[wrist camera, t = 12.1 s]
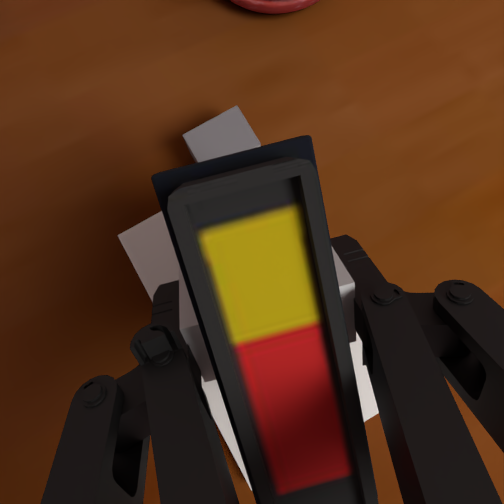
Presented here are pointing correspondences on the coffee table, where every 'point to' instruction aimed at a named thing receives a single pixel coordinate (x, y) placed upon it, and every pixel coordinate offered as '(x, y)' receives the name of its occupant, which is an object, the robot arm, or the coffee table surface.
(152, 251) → the charging pad
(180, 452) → the robot arm
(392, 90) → the coffee table surface
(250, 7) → the plant pot
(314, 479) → the magazine
